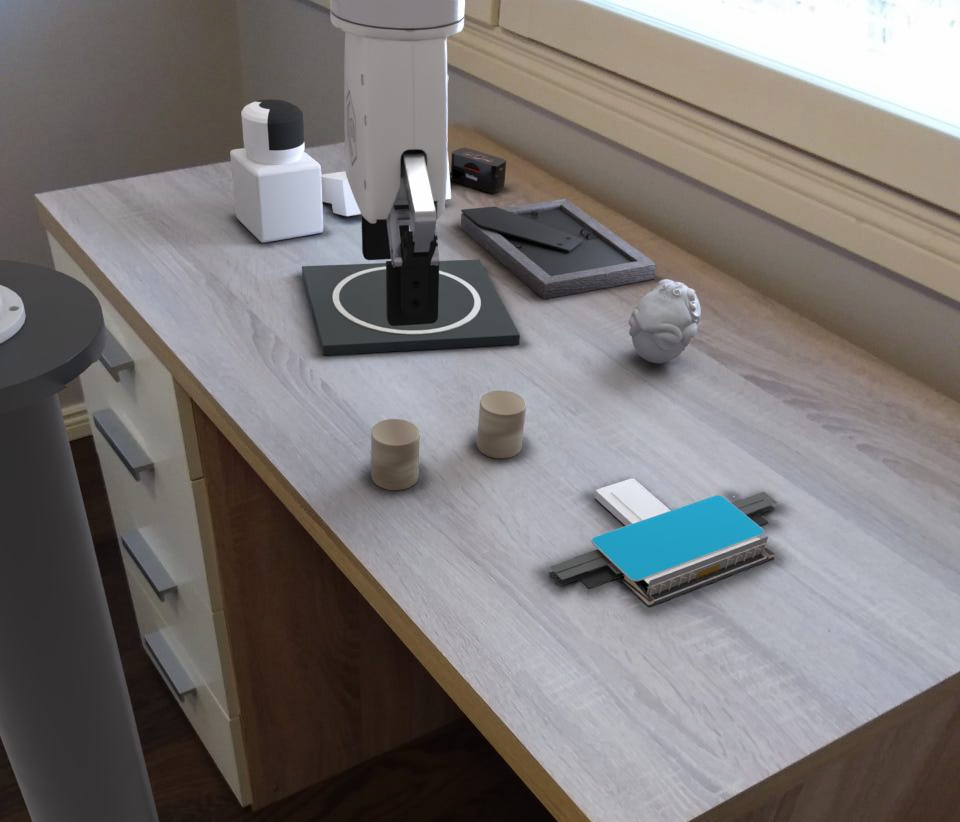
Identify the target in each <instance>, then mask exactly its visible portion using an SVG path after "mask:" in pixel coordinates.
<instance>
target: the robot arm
mask: <svg viewBox="0 0 960 822" xmlns="http://www.w3.org/2000/svg"><path fill="white" fill-rule="evenodd" d="M465 11H466V0H329V15H330V16H329V19H330V20H329V21H330V24H331V25H332V26H334V28H336V29H339V30H341V32H344V51H343V53H344V54H343V57H344V58H343V59H344V60H343V64H344V65H343V74H344V75H343V100H344V101H343V103H344V105H343V108H344V109H343V110H344V111H343V112H344V113H343V121H344V122H343V125H344V129H343V131H344V132H343V136H344V137H343V139H344V140H343V141H344V142H343V144H344V147H343V152H344V153H343V158H344V159H343V161H344V171H345V172H346V176H347V179H348V182H349V185H350V188H351V190H352V193H353V195H354V198H355V200H356V203H357V205H358V208H359V210H360V212H361V214H360V217H361V219H360V220H361V221H360V222H361V252H362V256H363V258H364V259H365V260H367V261H381V260H382V261H384V260H385V263H386V317H387V320H388V323H389V324H390V325H391V326H403V325H418V324H432V323H435V322H436V321H437V319H438V295H439V261H440V254H439V253H440V252H439V251H440V250H439V243H438V242H439V241H438V240H439V237H438V235H437V234H438V233H437V227H436V225H437V220H438V219H440V218H441V216H442V215H443V214H444V212H445V209H446V200H445V199H446V185H447V153H448V154H449V151H448V150H449V149H448V147H449V146H448V145H449V140H448V138H449V136H448V133H449V95H448V94H449V91H448V90H449V87H448V85H449V79H450V78H449V74H448V38H449V37H451V36H454V35H456V34H459V33H460V32H462V31H463V29H464V28H465ZM25 318H26V315H25V309H24V305H23V302H22V300H21V298H20V297H19V296H18V295H17V294H16V293H15V292H13V291H12V290H10V289H9V288H7V287H4V286H2V285H0V344H1V343H3V342H4V341H6V340H8V339H9V338H11V337H12V336H13V335H14V334H16V333H17V332H18V331H19V330H20V328H21V327H22V325H23V324H24V322H25Z"/></svg>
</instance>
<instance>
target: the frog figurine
mask: <svg viewBox="0 0 960 822" xmlns="http://www.w3.org/2000/svg"><path fill="white" fill-rule="evenodd" d="M701 317H702V309H701V304H700V300H699V297H698V295H697V294H696V290H694V289H693V288H689V287H688V286H687V285H686V284H685V283H683V282H680V281H676V280H675V281H674V280H672V279H668V278H664V279H661V280H659V281H658V283H657V285H656V286H655V287H653V288H652V289H650V291H649V292H648V293H647V294H645V295H644V296H642V297H641V298H640V300H639V301H638V303H637V304H636V308H635V309H633V310H632V312H631V314H630V318H629V319H628V325H629V326H630V328H629V331H628V334H629V336H630V337H631V342H632V345H633V348H634V350H635V352H636V353H637V355H639V357H640V358H641V359H643V360H645V361H646V362H649V363H651V364H665V363H669V362H671V361H673V360H674V359H676V358H677V357H679V355H681V354H682V352H684V351H685V349H686V347H688V346H689V344H690V342H691V340H692V338H694V337H695V336H696V335H697V333H698V324H699V323H700V320H701Z"/></svg>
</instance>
